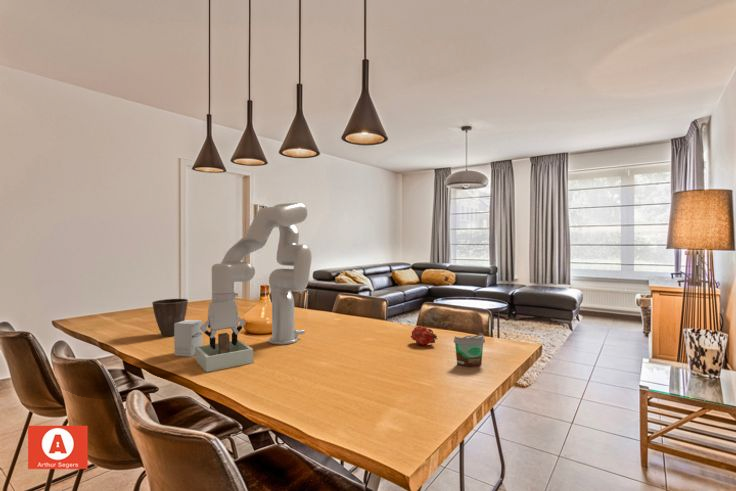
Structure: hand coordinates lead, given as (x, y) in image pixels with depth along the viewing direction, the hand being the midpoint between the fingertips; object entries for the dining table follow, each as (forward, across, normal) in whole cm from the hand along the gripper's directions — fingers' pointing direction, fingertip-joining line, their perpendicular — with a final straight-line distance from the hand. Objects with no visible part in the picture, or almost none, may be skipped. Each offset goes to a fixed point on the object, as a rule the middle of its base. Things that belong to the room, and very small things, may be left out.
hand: (223, 346), depth 140 cm
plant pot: (+6, +8, -57) cm, 58 cm away
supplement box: (+6, +8, -19) cm, 21 cm away
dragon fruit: (+6, -73, +29) cm, 79 cm away
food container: (+6, -68, +58) cm, 90 cm away
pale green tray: (+6, 0, 0) cm, 6 cm away
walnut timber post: (+5, 0, 0) cm, 5 cm away
